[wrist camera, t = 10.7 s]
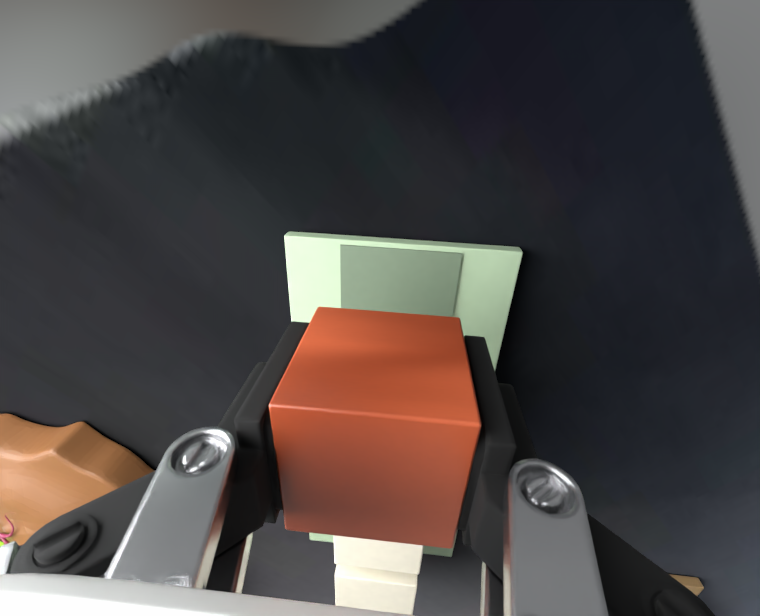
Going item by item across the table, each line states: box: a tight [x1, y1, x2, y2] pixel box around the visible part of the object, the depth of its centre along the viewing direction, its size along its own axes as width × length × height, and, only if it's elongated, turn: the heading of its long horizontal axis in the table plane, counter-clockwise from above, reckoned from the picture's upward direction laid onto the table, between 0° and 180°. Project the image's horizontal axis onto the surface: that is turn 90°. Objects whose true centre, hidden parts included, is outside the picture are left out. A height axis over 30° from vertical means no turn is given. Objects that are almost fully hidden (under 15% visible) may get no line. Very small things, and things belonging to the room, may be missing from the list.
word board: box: [284, 231, 523, 615], centre depth 17 cm, size 9×20×5 cm, turn 178°
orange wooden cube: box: [269, 306, 482, 549], centre depth 10 cm, size 4×4×4 cm
